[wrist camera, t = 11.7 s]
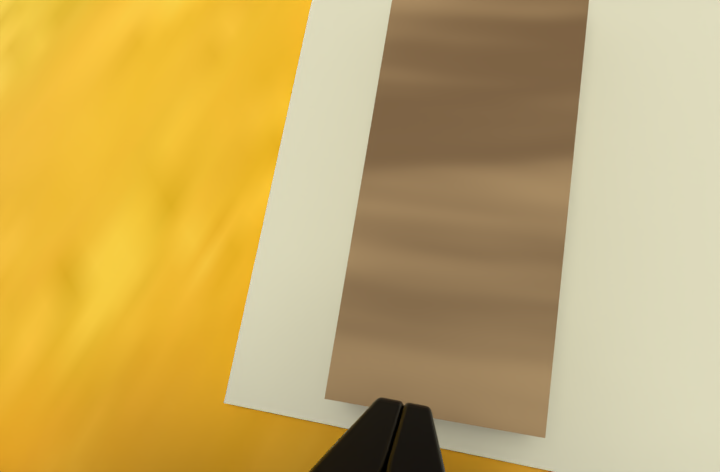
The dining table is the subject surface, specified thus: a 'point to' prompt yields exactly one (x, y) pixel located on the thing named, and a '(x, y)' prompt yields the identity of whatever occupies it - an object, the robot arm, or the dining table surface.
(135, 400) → the dining table surface
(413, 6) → the block
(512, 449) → the mat
